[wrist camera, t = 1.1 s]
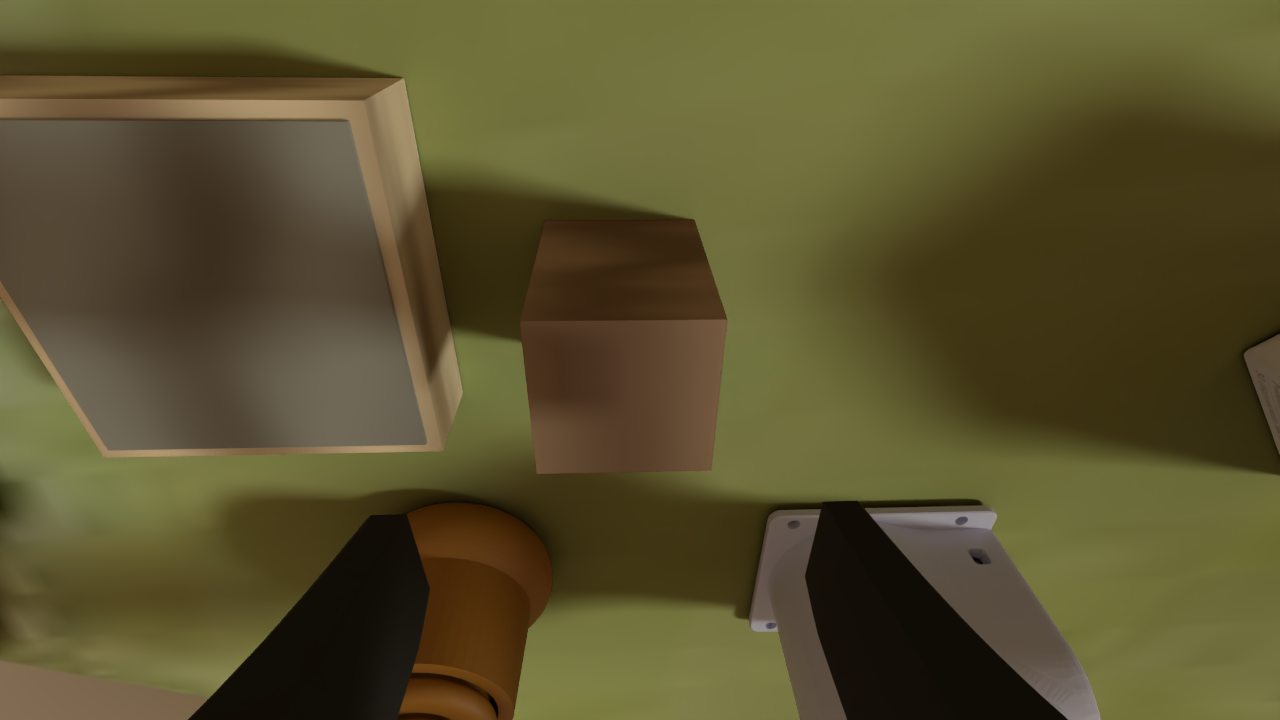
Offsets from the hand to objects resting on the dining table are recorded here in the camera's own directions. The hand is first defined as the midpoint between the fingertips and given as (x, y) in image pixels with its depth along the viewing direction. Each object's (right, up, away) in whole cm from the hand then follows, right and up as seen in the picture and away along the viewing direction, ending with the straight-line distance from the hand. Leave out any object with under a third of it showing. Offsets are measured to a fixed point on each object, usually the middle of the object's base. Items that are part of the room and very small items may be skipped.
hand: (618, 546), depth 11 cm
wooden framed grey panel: (-11, +6, +7) cm, 14 cm away
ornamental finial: (-7, -5, +15) cm, 17 cm away
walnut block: (0, +6, +8) cm, 10 cm away
